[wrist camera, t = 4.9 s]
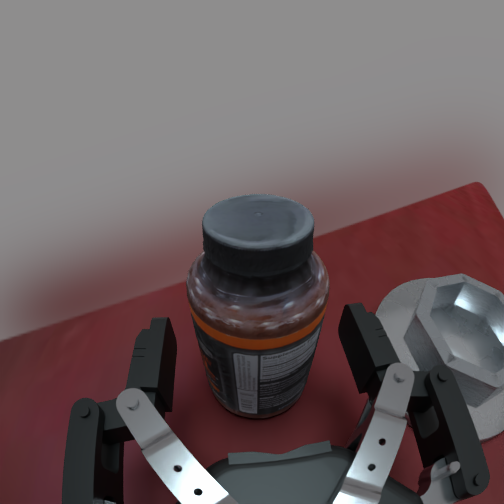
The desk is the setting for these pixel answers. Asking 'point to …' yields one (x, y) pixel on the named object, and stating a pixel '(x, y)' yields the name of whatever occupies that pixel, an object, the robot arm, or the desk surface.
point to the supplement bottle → (257, 302)
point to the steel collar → (453, 339)
